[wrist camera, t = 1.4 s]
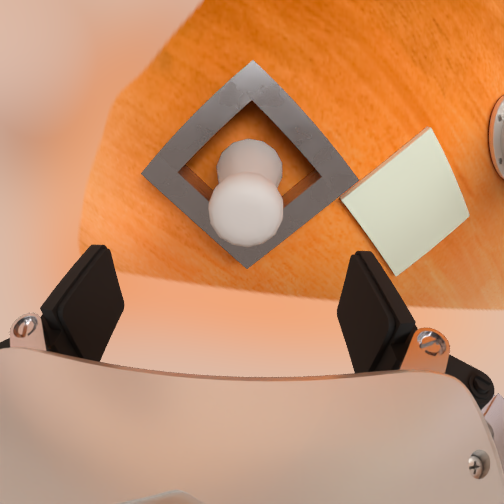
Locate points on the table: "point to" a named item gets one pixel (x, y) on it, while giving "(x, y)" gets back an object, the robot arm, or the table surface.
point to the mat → (408, 202)
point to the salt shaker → (247, 194)
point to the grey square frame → (291, 124)
